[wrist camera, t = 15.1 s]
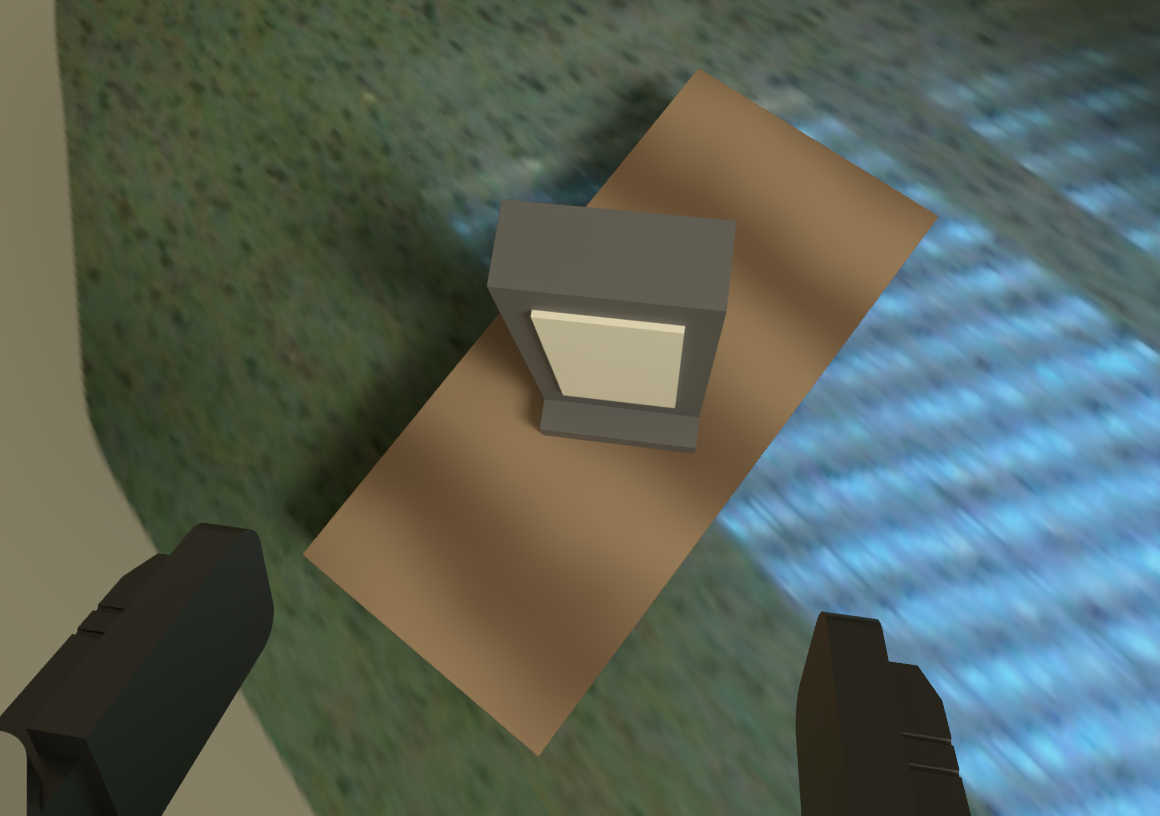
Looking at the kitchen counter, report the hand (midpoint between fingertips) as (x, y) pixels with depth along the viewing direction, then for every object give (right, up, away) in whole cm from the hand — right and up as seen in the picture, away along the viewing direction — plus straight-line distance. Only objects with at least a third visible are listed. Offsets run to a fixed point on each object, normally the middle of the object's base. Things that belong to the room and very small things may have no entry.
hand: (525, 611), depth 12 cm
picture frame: (+2, +4, +16) cm, 17 cm away
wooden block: (+3, +3, +19) cm, 20 cm away
